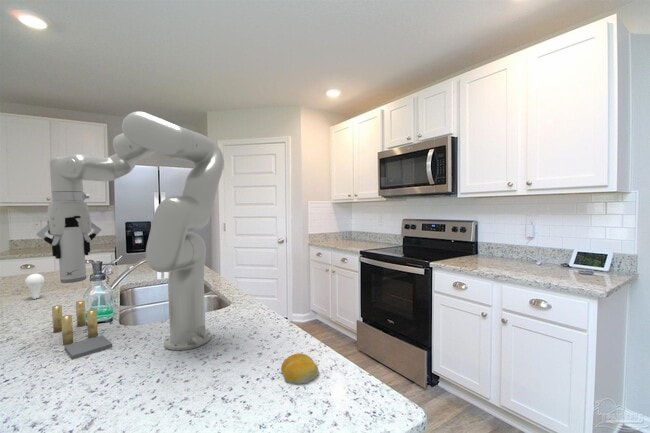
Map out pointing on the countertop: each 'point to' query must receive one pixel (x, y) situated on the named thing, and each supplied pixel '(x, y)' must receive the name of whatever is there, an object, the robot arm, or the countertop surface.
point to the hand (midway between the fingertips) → (72, 256)
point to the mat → (87, 347)
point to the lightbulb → (35, 284)
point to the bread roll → (299, 369)
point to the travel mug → (72, 252)
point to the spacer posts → (66, 322)
